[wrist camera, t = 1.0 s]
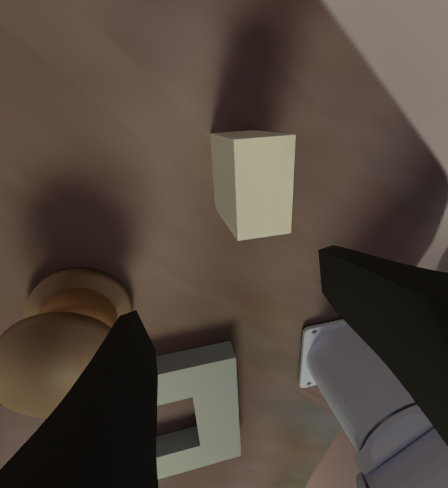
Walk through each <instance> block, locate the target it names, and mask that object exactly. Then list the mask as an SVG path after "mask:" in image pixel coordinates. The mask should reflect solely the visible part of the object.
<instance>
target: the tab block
mask: <svg viewBox="0 0 448 488" xmlns="http://www.w3.org/2000/svg"><path fill="white" fill-rule="evenodd" d="M295 138H296V135H294V134H285V133H276V132H267V131H258V130H250V131H236V132H222V133H210V139H211V153H212V168H213V182H214V196H215V209H216V210H217V211H218V213H219V214H220V216H221V217H222V219H223V220H224V222H225V223H226V225H227V226H228V228H229V229H230V231H231V232H232V233H233V235H234V236H235V238H236V239H237V241H240V240H247V239H254V238H261V237H268V236H275V235H282V234H288V233H291V220H292V200H293V179H294V159H295Z"/></svg>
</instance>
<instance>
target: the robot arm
mask: <svg viewBox="0 0 448 488" xmlns="http://www.w3.org/2000/svg"><path fill="white" fill-rule="evenodd" d="M318 251H319V262H320V273H321V285H322V293H323V294H324V295H325V297H326V298H327V300H328V301H329V303H330V304H331V305H332V307H333V308H334V309H335V311H336V312H337V313H338V314H339V315H340V316H341V317H342V319H341V320H336V321H332V322H327V323H322V324H317V325H313V326H308V327H306V328H304V330H303V335H302V348H301V360H300V372H299V386H300V387H301V388H306V387H310V386H314V385H317V386H318V388H319V390H320V391H321V393H322V395H323V396H324V398H325V399H326V401H327V403H328V404H329V406H330V408H331V409H332V411H333V413H334V414H335V416H336V418H337V419H338V421H339V422H340V424H341V426H342V427H343V429H344V431H345V432H346V434H347V436H348V437H349V439H350V441H351V442H352V444H353V445H354V447H355V449H356V450H357V452H358V453H357V454H356V455H355V456H354V459H355V461H356V462H357V464H358V466H359V468H360V469H361V471H362V472H360V473H359V474H358V475H357V476H356V482H357V488H448V273H445V272H439V271H434V270H429V269H424V268H419V267H415V266H411V265H406V264H402V263H398V262H394V261H390V260H386V259H383V258H379V257H375V256H372V255H368V254H365V253H361V252H358V251H354V250H350V249H347V248H343V247H339V246H334V245H332V246H329V247H326V248H323V249H320V250H318ZM313 330H314V331H313ZM157 395H158V372H157V361H156V352H155V348H154V346H153V344H152V342H151V340H150V338H149V336H148V334H147V332H146V330H145V328H144V325H143V323H142V321H141V319H140V317H139V315H138V313H137V311H136V310H135V311H132V312H129V313H126V314H123V315H120V316H119V317H118V319H117V320H116V322H115V323H114V325H113V326H112V328H111V330H110V331H109V333H108V334H107V336H106V338H105V339H104V341H103V342H102V344H101V345H100V347H99V349H98V350H97V352H96V353H95V355H94V356H93V358H92V359H91V361H90V362H89V364H88V365H87V367H86V368H85V369H84V371H83V372H82V374H81V375H80V376H79V378H78V379H77V381H76V382H75V383H74V385H73V386H72V388H71V389H70V390H69V392H68V393H67V394H66V396H65V397H64V398H63V399H62V401H61V402H60V403H59V405H58V406H57V407H56V408H55V409H54V411H53V412H52V413H51V414H50V415H49V417H48V418H47V419H46V420H45V421H44V423H43V424H42V425H41V426H40V427H39V428H38V430H37V431H36V432H35V433H34V434H33V435H32V436H31V437H30V438H29V439H28V440H27V442H26V443H25V444H24V445H23V446H22V447H21V448H20V449H19V450H18V451H17V452H16V453H15V455H14V456H13V457H12V458H11V459H10V460H9V461H8V462H7V463H6V464H5V465H4V466H3V467H2V468H1V469H0V488H158V476H157V460H156V430H157Z"/></svg>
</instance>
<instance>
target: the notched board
mask: <svg viewBox="0 0 448 488" xmlns="http://www.w3.org/2000/svg"><path fill="white" fill-rule="evenodd" d="M156 361H157V372H158V395H157V406H158V405H162V404H166V403H170V402H174V401H179V400H183V399H187V398H191V397H193V401H194V408H195V415H196V421H197V426H194V427H191V428H187V429H183V430H179V431H175V432H171V433H167V434H164V435H160V436H156V460H157V476H158V479H161V478H165V477H168V476H172V475H175V474H179V473H182V472H186V471H189V470H193V469H196V468H200V467H203V466H207V465H210V464H214V463H217V462H221V461H224V460H228V459H231V458H235V457H238V456H241V448H240V428H239V408H238V388H237V368H236V356H235V353H234V350H233V347H232V344H231V341H226V342H222V343H217V344H212V345H207V346H202V347H198V348H193V349H188V350H183V351H178V352H174V353H169V354H164V355H159V356H156Z"/></svg>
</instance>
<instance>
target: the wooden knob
mask: <svg viewBox="0 0 448 488" xmlns="http://www.w3.org/2000/svg"><path fill="white" fill-rule="evenodd" d="M129 312H132V300H131V297H130V295H129V293H128V291H127V289H126V288H125V287H124V286H123V285H122V283H121V282H119V281H118V280H117V279H116V278H114V277H112V276H111V275H109V274H107V273H105V272H102V271H99V270H95V269H91V268H68V269H63V270H60V271H57V272H55V273H52V274H50V275H49V276H47V277H45V278H44V279H43V280H42V281H40V282H39V283H38V284H37V286H36V287H35V288H34V290H33V291H32V292H31V294H30V295H29V297H28V298H27V300H26V302H25V305H24V309H23V320H21V321H19V322H17V323H15V324H14V325H12V326H11V327H9V328H8V329H7V330H6V331H5V332H4V333H3V334H2V335H1V336H0V404H1V405H3V406H5V407H6V408H8V409H10V410H12V411H14V412H17V413H19V414H23V415H26V416H30V417H36V418H45V419H47V418H48V417H49V415H50V414H51V413H52V412H53V411H54V409H55V408H56V407H57V406H58V405H59V403H60V402H61V401H62V399H63V398H64V397H65V396H66V394H67V393H68V392H69V390H70V389H71V388H72V386H73V385H74V383H75V382H76V381H77V379H78V378H79V376H80V375H81V374H82V372H83V371H84V369H85V368H86V367H87V365H88V364H89V362H90V361H91V359H92V358H93V356H94V355H95V353H96V352H97V350H98V349H99V347H100V345H101V344H102V342H103V341H104V339H105V338H106V336H107V334H108V333H109V331H110V330H111V328H112V326H113V325H114V323H115V322H116V320H117V319H118V317H119V316H120V315H123V314H126V313H129Z"/></svg>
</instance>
